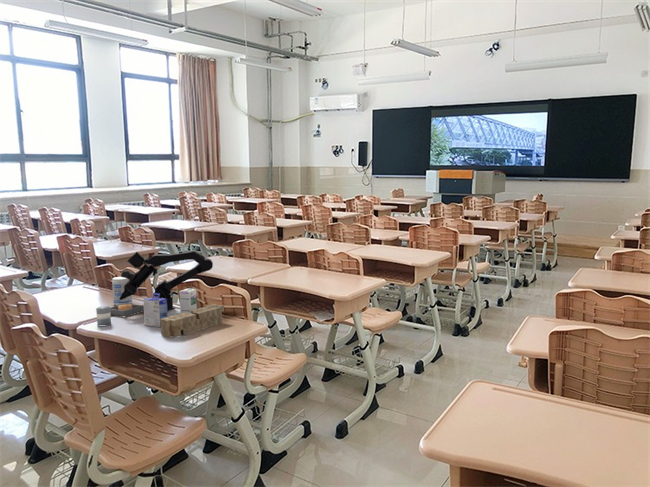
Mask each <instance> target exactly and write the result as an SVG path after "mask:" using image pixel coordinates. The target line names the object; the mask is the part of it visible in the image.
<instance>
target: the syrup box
mask: <svg viewBox="0 0 650 487" xmlns="http://www.w3.org/2000/svg"><path fill="white" fill-rule="evenodd" d="M179 300H180V301H179V303H180V314H181V313H184V312H187V313H191V310H195V309H198V308H199V307H198V295H197V289H196V288H185V289H182V290H179Z"/></svg>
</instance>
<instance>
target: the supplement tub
mask: <svg viewBox="0 0 650 487" xmlns="http://www.w3.org/2000/svg"><path fill="white" fill-rule="evenodd" d="M129 280H130V279H127V278H124V277H121V276H117V277H113V278H112V281H111V282H112V283H111V285H112V286H111V288H112V301H113V305H114V306H118V305H122V304H126V303H128V304H133V295H131V296H129V297H127V298H124V299H122V300H120V299H119V298H120V297H121V295H122V294H123V292H124V286H125V284H126V283H127V282H128V281H129Z"/></svg>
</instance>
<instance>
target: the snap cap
mask: <svg viewBox="0 0 650 487" xmlns="http://www.w3.org/2000/svg"><path fill="white" fill-rule="evenodd" d="M131 304H132V303H131ZM131 304H125V305H120V306H118V310H122V311H125V310H128V309H132V305H131Z"/></svg>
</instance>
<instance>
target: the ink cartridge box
mask: <svg viewBox="0 0 650 487" xmlns="http://www.w3.org/2000/svg"><path fill="white" fill-rule="evenodd" d="M157 295H158V296H157ZM159 296H160V294H159V293H155V292H154V293H153V294H152V297H148V298H144V299H143V300H142V301H143V305H144V311H143V317H144V318H143V321H144V322H143V323H144V326H150V327H159V328H161V324H160V319H162V318H166V317H169V314H168V313H169V312H168V311H167V299H164V298H159Z"/></svg>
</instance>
